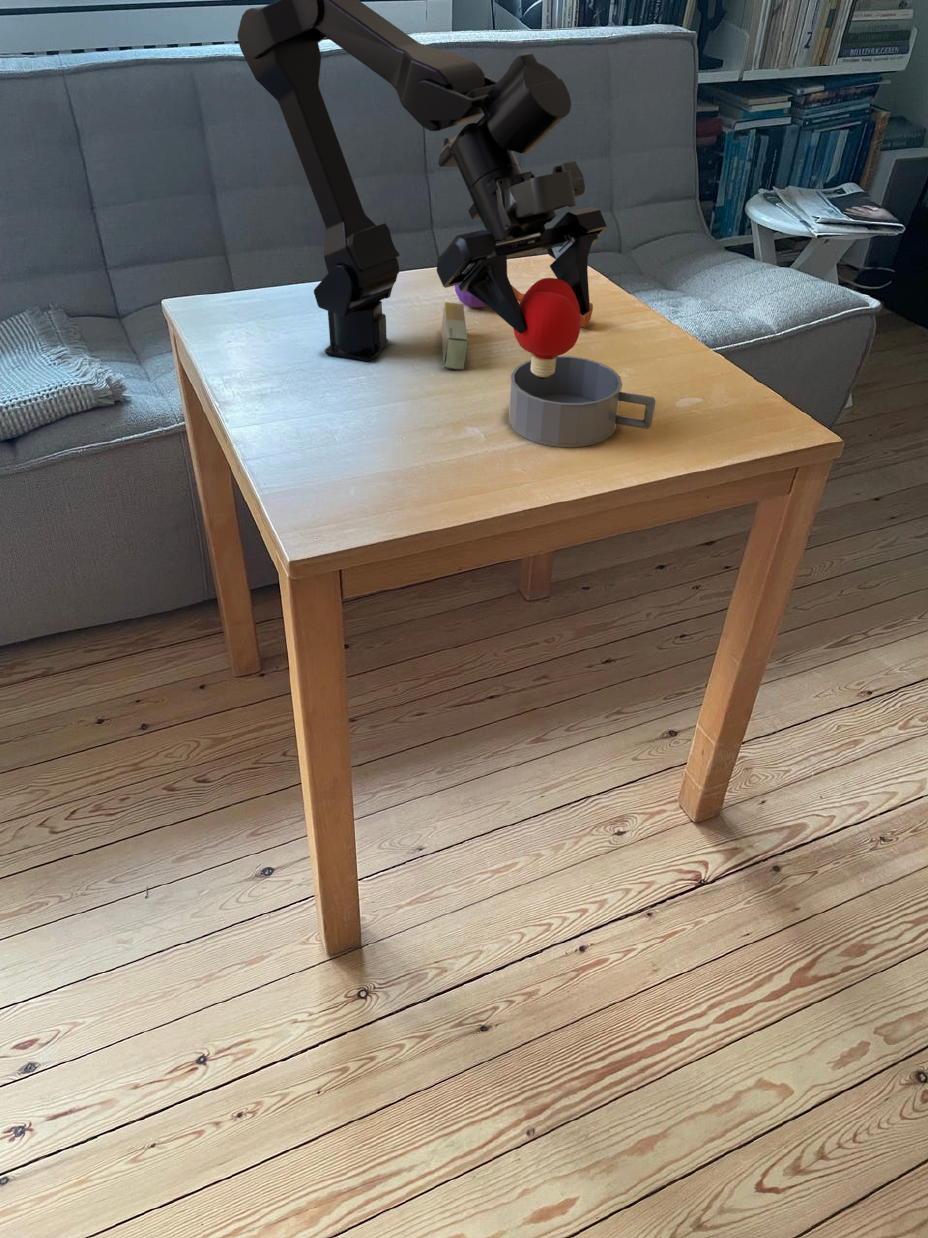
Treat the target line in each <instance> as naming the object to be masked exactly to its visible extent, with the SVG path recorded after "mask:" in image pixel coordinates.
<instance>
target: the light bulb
mask: <svg viewBox="0 0 928 1238" xmlns="http://www.w3.org/2000/svg"><path fill="white" fill-rule="evenodd" d="M524 294H525V295H524V296H523V298H522V300H521V301H520V302H518V303H519V305H520V308H521V310H522V312H523V315H524V318H525V322H526V325H527V330H526V331H525V332H524V333H518V332H517V331H516V330H515V329H514V328H513V327H512V328H513V333H514V337H515V339H516V341H517V343H518V345H519V347H521V348H522V349H523V350H524V351H526V352H528V353H530V357H531V359H530V360H531V369H530V370H531V372H532V373H533V374H535V375H536V376H537V377H538V378H539V379H546V378H547V377H548V376H550V375H552V374H554V372H555V365H556V358H557V356H563V355H564V354H567V353H568V352H569V351H570V350H571V349H573V348H574V347H575V345H576V343H577V341H578V340H579V336H580V332H581V326H580V324H581V315H580V308H579V303H578V301H577V298H576V295H575V293H574V292H573V290H572V288H571V287H570V286H569V285H568V284H567V283H566V282H565V281H563V280H560V279H557V277H545V278H541V279H539V280H537V281H536V282H534V283H533V284H532V285H531V286H530V287H529V288H528V289H527V290H526V292H525V293H524Z"/></svg>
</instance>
